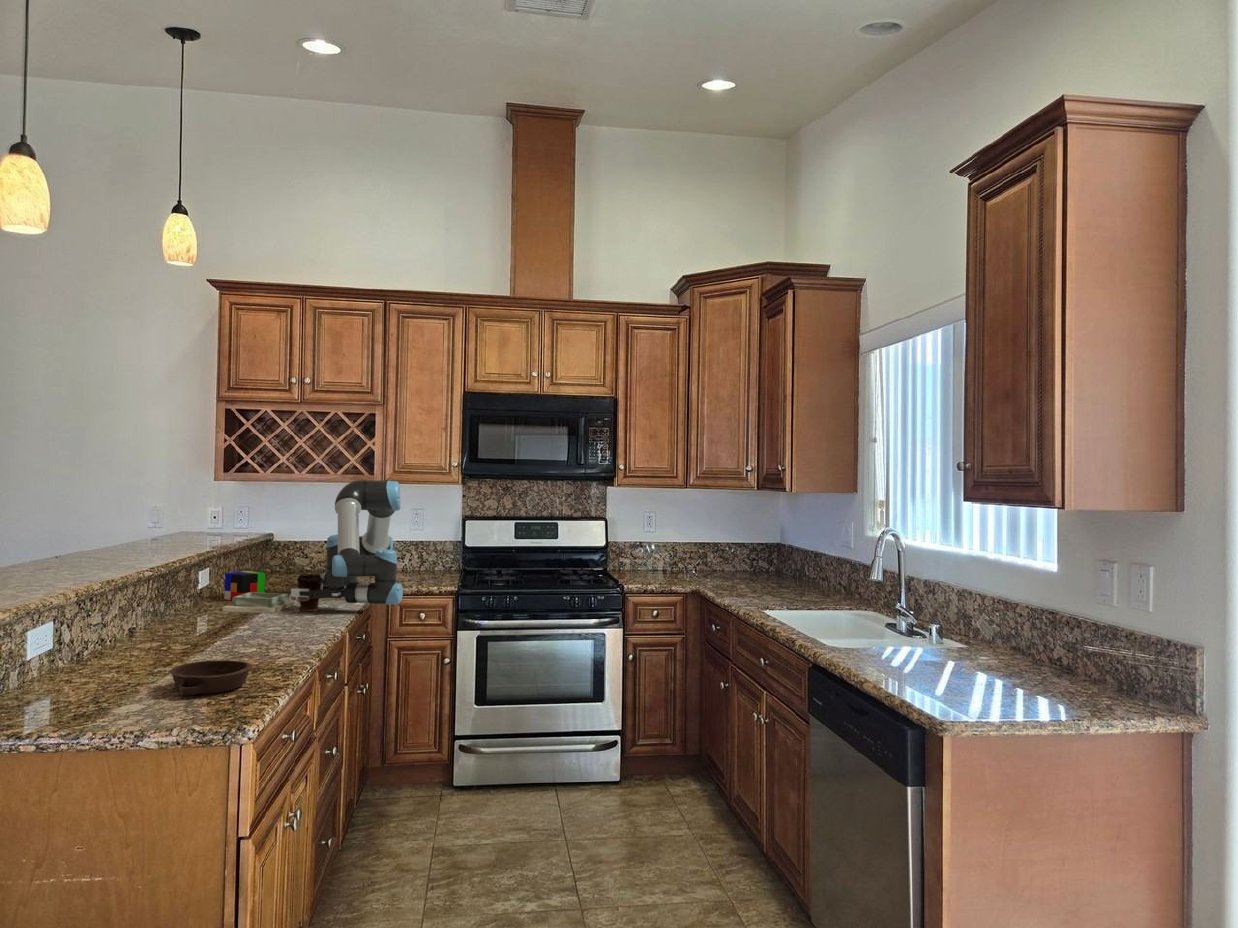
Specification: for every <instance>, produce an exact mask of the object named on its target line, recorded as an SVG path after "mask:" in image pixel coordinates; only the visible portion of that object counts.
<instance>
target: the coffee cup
mask: <svg viewBox="0 0 1238 928" xmlns="http://www.w3.org/2000/svg"><path fill="white" fill-rule="evenodd" d="M296 580H297V583H298V584H297V589H309V588H311V590H320V587H321V583H322V581H323V577H321V574H320V573H299V575H298V577H297V578H296ZM312 596H313V593H312ZM319 601H320V598H311V599H310V598H308V597H298V602H299V605H300V606H299V611H303V612H305V611H306V612H318V611H319V609H318V606H319Z"/></svg>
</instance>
